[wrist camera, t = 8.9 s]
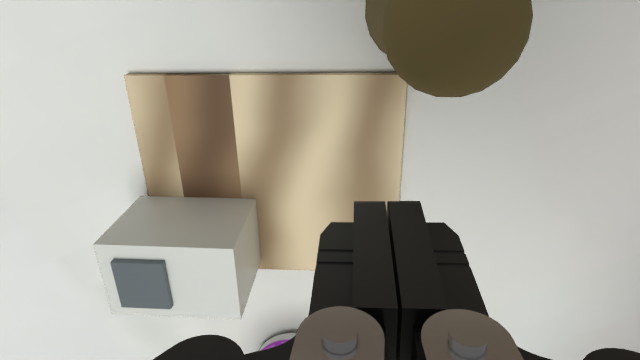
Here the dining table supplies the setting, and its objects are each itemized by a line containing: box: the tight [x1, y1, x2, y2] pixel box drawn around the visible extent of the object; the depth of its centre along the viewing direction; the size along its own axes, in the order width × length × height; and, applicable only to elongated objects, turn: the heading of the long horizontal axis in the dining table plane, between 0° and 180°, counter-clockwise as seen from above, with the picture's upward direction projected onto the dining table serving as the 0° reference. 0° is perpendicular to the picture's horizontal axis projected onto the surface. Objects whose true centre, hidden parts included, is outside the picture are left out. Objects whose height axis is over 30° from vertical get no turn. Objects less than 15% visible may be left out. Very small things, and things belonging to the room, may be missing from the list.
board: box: [124, 73, 407, 270], centre depth 29 cm, size 17×14×1 cm
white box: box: [93, 196, 261, 319], centre depth 28 cm, size 8×5×6 cm, turn 91°
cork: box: [365, 0, 533, 97], centre depth 19 cm, size 6×6×11 cm
